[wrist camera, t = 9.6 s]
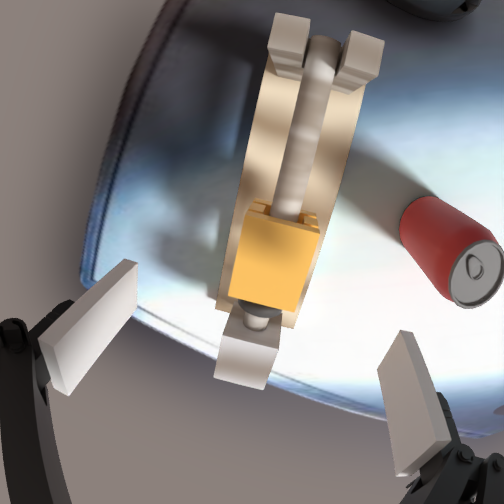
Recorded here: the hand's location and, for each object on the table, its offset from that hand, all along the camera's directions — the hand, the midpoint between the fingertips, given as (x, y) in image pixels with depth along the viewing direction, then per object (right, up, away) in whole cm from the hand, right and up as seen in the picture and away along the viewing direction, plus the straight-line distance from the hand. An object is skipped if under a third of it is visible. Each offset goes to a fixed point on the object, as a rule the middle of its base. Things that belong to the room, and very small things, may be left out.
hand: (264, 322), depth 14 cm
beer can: (+18, +6, +15) cm, 24 cm away
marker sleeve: (+1, +4, +10) cm, 11 cm away
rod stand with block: (+3, +9, +15) cm, 18 cm away
